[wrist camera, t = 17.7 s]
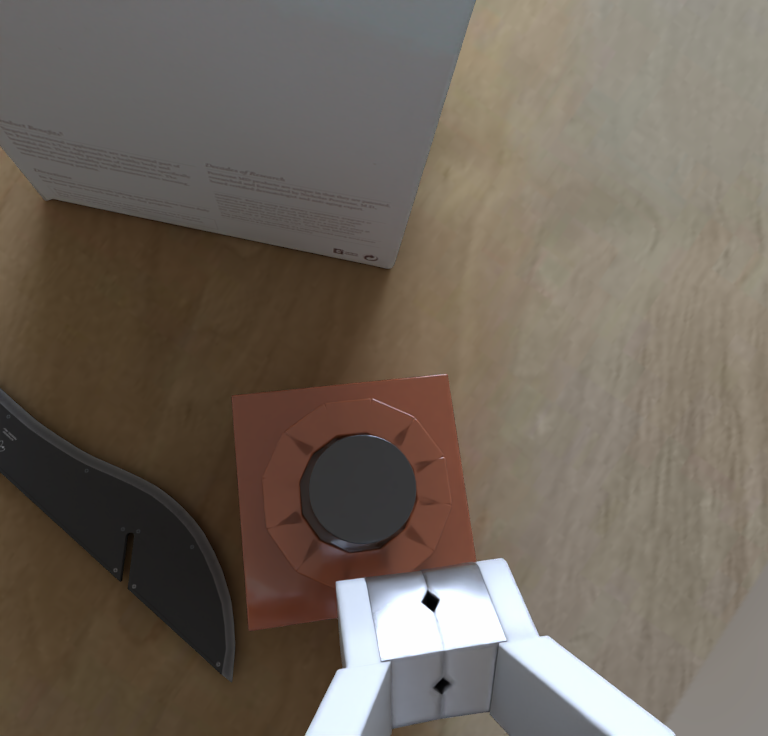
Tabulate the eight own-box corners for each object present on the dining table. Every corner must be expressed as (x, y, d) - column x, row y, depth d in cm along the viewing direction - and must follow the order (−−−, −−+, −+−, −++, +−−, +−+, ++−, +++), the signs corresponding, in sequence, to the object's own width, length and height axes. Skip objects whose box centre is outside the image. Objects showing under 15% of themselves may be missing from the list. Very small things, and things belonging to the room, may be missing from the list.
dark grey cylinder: (411, 535, 21) (423, 536, 18) (314, 548, 20) (314, 551, 18) (398, 438, 21) (408, 428, 19) (304, 449, 21) (303, 440, 19)
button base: (445, 580, 28) (497, 602, 20) (262, 607, 27) (242, 641, 19) (420, 403, 30) (458, 361, 22) (247, 421, 28) (224, 384, 21)
